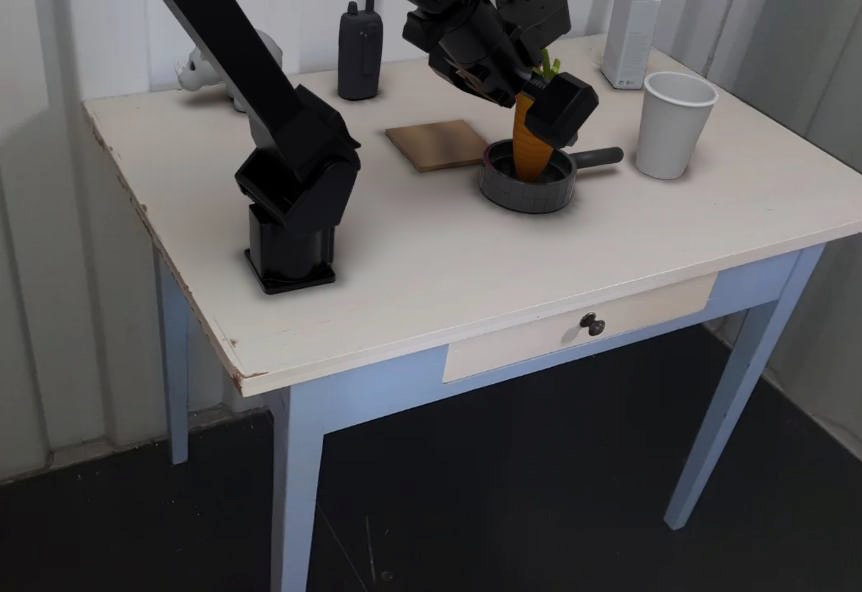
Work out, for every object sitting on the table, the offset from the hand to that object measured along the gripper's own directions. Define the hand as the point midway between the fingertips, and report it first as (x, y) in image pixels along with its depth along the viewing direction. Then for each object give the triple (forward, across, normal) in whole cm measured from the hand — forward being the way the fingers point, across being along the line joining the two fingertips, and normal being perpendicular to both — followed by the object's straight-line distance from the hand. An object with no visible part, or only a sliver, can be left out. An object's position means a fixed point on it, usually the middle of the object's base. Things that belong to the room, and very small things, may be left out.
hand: (542, 123), depth 95 cm
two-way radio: (+3, +26, +8) cm, 28 cm away
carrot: (+5, 0, +6) cm, 8 cm away
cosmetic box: (+28, +16, -17) cm, 36 cm away
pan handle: (+10, -2, -1) cm, 10 cm away
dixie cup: (+18, -4, -6) cm, 19 cm away
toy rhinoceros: (-8, +31, +19) cm, 37 cm away
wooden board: (+3, +12, +8) cm, 14 cm away
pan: (+5, 0, +6) cm, 8 cm away
